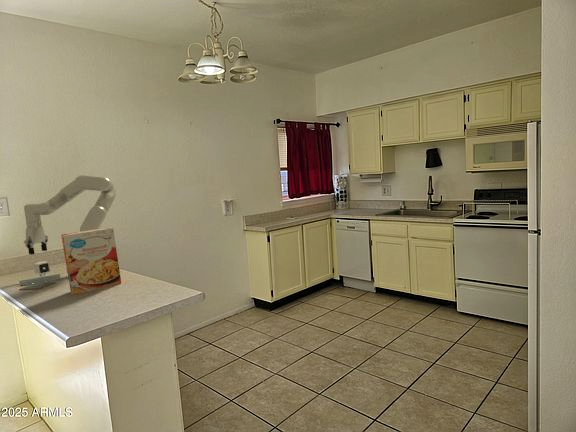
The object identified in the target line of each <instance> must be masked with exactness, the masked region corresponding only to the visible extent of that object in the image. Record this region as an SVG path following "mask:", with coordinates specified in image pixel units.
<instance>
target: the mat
mask: <svg viewBox="0 0 576 432" xmlns="http://www.w3.org/2000/svg"><path fill="white" fill-rule="evenodd" d="M52 284H56V282H55V281H46V282H38V283H34V284H29V285H27V286H26V285H25V286H24V287H20V288H19V289H18V290H19V291H30V290H31V291H32V290H33V291H34V290H40V289H43V288H45V287H49V286H50V285H52Z"/></svg>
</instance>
